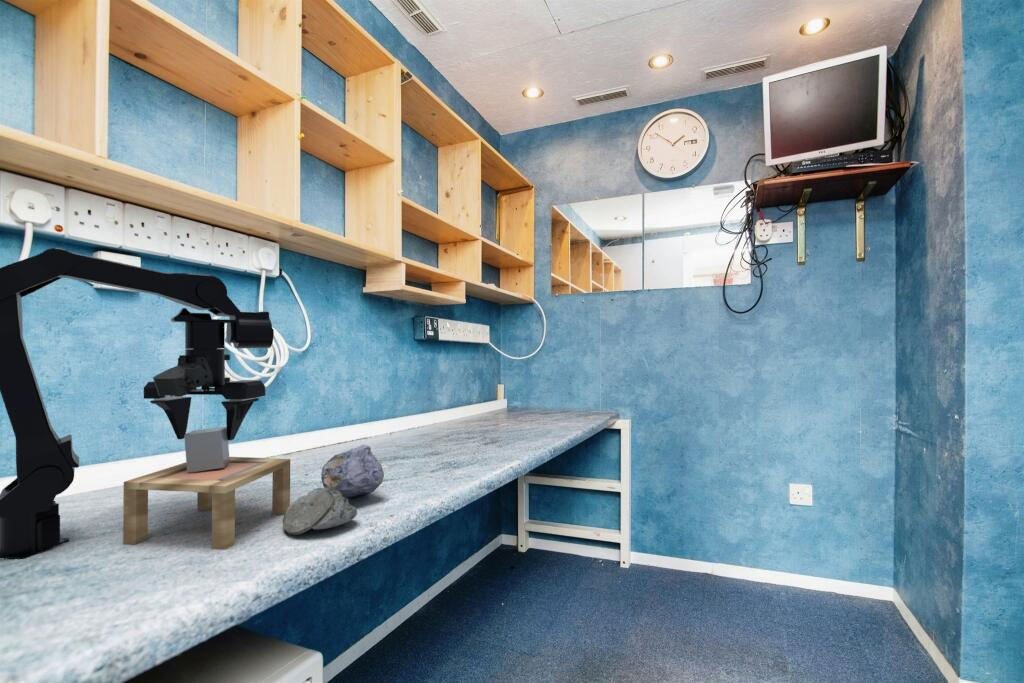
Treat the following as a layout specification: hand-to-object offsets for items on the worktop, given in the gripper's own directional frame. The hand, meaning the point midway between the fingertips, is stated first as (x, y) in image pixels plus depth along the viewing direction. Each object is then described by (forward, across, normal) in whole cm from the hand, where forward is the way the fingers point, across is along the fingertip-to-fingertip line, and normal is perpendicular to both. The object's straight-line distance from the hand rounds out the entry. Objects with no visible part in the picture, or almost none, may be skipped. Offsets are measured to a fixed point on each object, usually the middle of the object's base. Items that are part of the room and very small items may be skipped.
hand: (205, 439), depth 82 cm
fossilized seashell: (+15, +19, -2) cm, 24 cm away
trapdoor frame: (+13, +6, -5) cm, 15 cm away
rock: (+13, +22, +9) cm, 27 cm away
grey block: (+4, +4, -4) cm, 6 cm away
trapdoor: (+4, +11, -5) cm, 13 cm away
